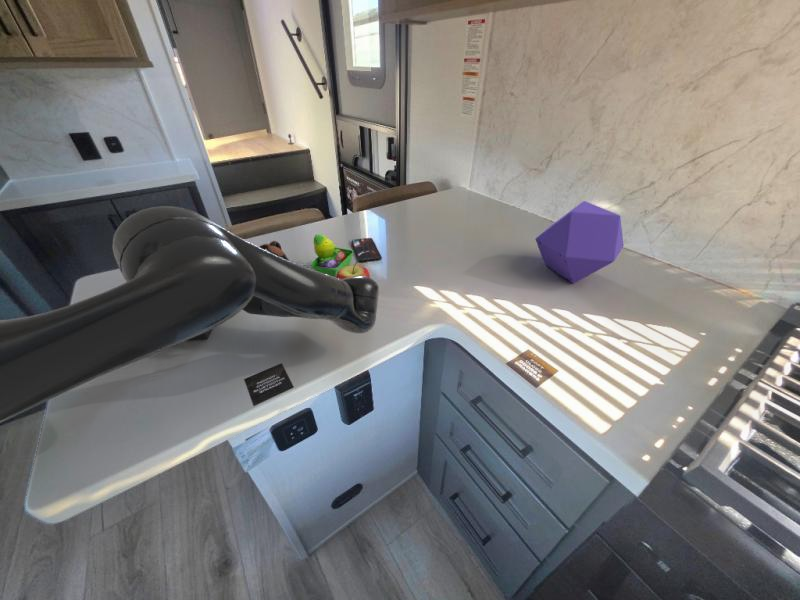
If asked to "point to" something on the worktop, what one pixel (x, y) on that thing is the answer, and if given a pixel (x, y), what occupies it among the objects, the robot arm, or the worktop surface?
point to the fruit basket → (329, 256)
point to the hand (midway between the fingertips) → (195, 288)
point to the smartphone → (366, 249)
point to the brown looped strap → (274, 249)
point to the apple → (352, 271)
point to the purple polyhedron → (581, 241)
